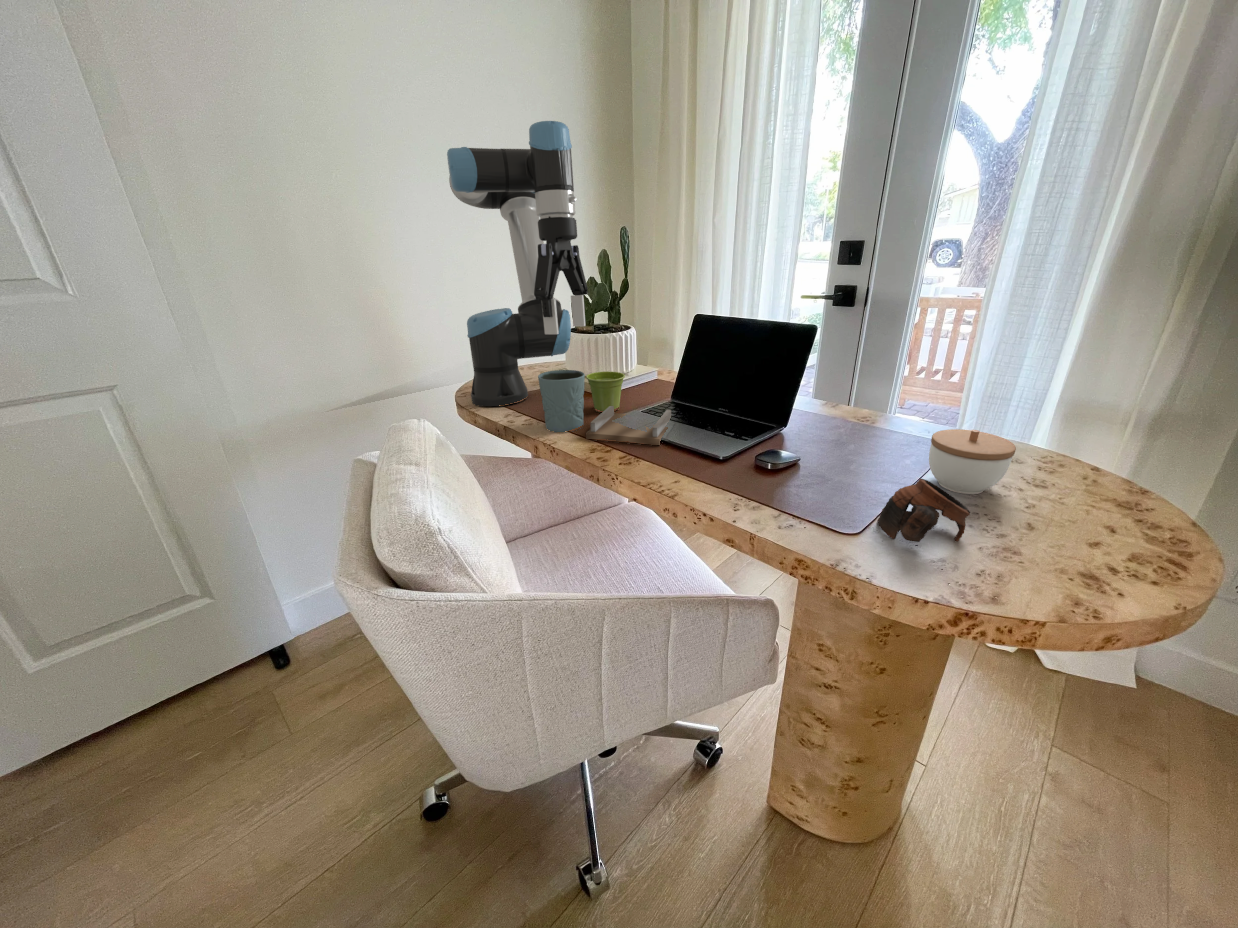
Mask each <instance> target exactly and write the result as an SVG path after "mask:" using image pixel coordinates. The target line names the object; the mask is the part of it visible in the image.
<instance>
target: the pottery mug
mask: <svg viewBox="0 0 1238 928" xmlns="http://www.w3.org/2000/svg"><path fill="white" fill-rule="evenodd" d="M909 506H912V507H911V509H910V510H908V508H909ZM880 512H881V513H880V514H879V517H878V518H877V520H876V521H877V524H878V527H879V528H880V529H881V531H882V532H884V534H886V535H887V536H888V537H889V538H891V539H892V540H895V539H896V538H897V536H898V533H899V532H900V534H901V536H902V537H903V539H905V541H909V542H914V543H920V542H921V540H922V539H924V537H925V536H926V535H927V533H929V531H932V529H933V528H934V527H935V526H936V525H937V524H938V522H939V518H940V513H939V512H941V516H942V517H945V518H947V519H949V520H950V521H952V522H955V523H956V526H957V528H958V532H957V533H956V535H955V536H954V538H953V540H954V542H959V541H960V539H961V538H962V537H963V535H964V533H965V530H966V518H968V517H969V516H970V515H971V510H969V509H968V508H967V506H966V505H964V504H963V502H961V501H960V500H958V499H957V498H955V497H954V496H953V495H952V494H950V493H949V492H947V491H946V490H945V489H943V488H942V487H939V486H938V485H936V484H935V483H933V482H931V481H929V480H927V479H924V478H919V479H918V481H917V482H916V483H915V484H911V485H907V486H904V487H902V488H899V489H898V490H896V491H895V492H894V494H893V495H892V496H891V497H890V498H889V499H888V501H887V502H886V505H884V506H883V508H882V510H881V511H880Z"/></svg>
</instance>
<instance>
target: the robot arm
mask: <svg viewBox="0 0 1238 928" xmlns="http://www.w3.org/2000/svg"><path fill="white" fill-rule="evenodd" d="M528 135H529V136H528V137H529V141H528V145H529V148H487V147H486V148H482V147H479V148H478V147H468V146H461V147H454V148H453V147H451V148H449V149H448V150H447V153H446V156H447V166H448V172H449V173H448V174H449V178H448V180H449V181H448V182H449V186H450V189H451V191H452V194H453V195H454V197H455V198H457V200H459V201H460V202H462V203H464V204H466V205H468V206H471V207H475V208H478V209H483V210H485V209H486V210H499V211H500V216H501V217H502V218H503V219H504V220H505V221H507V224H508V230H509V235H510V241H511V246H512V247H511V248H512V252H513V258H514V264H515V269H516V274H517V279H518V280H517V281H518V284H519V286H518V287H519V292H520V296H521V303H520V304H518V305H519V306H518V307H517V312H518V313H513V311H512V309H511V308H509V307H503V308H497V309H490V310H485V311H481V312H477V313H475V314H473V315H470V316H469V317H468V318H467V321H466V326H467V338H468V341H469V348H470V355H471V360H472V366H473V379H472V386H471V392H470V397H471V398H470V399H471V403H472V404H473V405H474V404H475V405H474V406H477V405H479V406H478V407H482V406H499V405H505V404H510V403H514V402H517V401H520V400H522V399H524V398H526V397H527V396H528V397H529V393H528V392H529V391H528V388H527V386H526V383H525V380H524V377H522V375H521V372H520V370H519V361H518V360H520V359H521V360H523V359H532V358H533V359H534V358H543V357H554V356H559V355H563V354H565V353H567V352H568V350H569V348H570V344H571V337H572V336H571V333H572V332H571V331H572V329H571V328H572V327H586V325H587V324H586V315H585V314H586V313H585V312H586V311H585V300H584V296H585V295H588V293H589V292H588V283H587V279H586V276H585V272H584V269H583V265H582V261H581V258H580V249H579V245H578V244H574V245H572V243H571V241H572V240H573V241H574V240H576V239H577V238H578V226H577V219H576V218H575V217H573V216H575V214H576V203H575V202H576V201H577V197H576V196H575V190H574V175H573V159H572V148H573V145H572V142H571V136H570V135H571V134H570V129H569V127H568V126H567V124H566V123H564V122H562V121H556V120H542V121H537V122H534V123H532V124H531V125H530V126H529V129H528ZM544 242H545V243H544ZM560 272H563V274H564V277H565V279H566V282H567V284H568V286H569V289H570V290H571V292H572V295H570V302H571V303H570V304H571V305H570V306H571V314H572V317H571V315H570V311H569V310H568V309H564V308H563V309H562V304H561V302H560V301H559V300H558V299H557V298H556V297H555V291H556V287H557V283H558V279H559V276H560ZM571 318H572V321H571ZM571 322H572V324H571Z"/></svg>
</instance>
